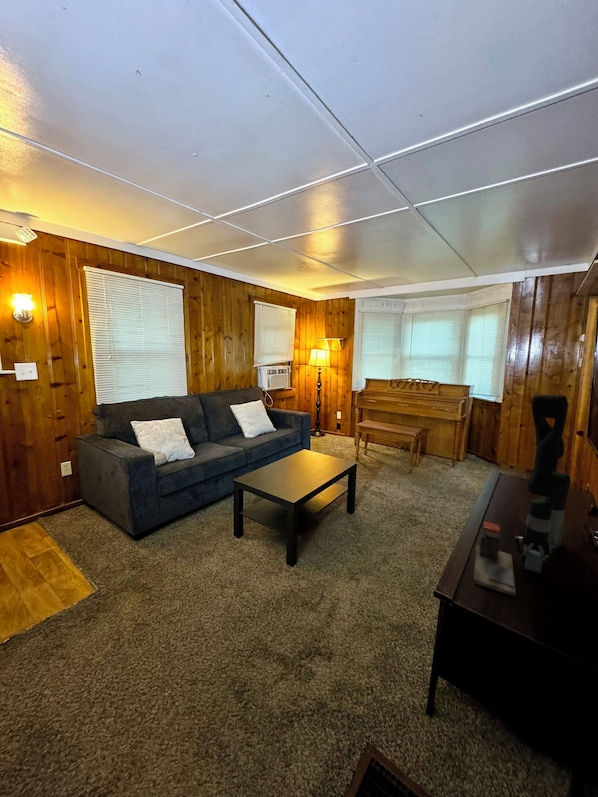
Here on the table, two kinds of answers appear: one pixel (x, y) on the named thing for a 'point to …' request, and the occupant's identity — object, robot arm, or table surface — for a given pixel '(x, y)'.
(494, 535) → the block
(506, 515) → the table surface
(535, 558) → the block
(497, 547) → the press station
